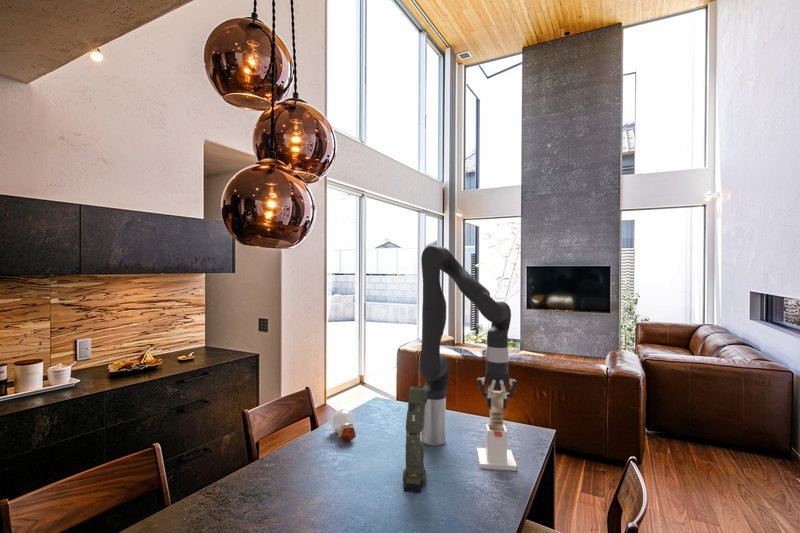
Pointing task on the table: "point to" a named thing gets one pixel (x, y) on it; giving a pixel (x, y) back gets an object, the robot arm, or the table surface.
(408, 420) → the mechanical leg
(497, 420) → the post
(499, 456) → the sleeve stand
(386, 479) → the table surface
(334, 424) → the potion bottle
